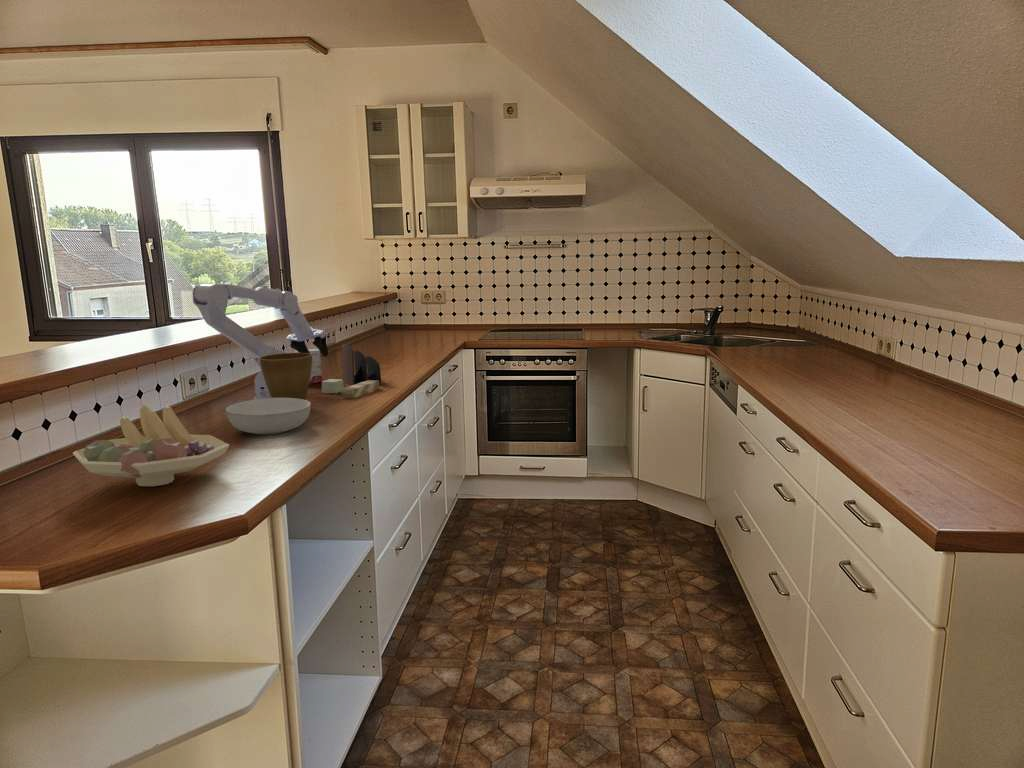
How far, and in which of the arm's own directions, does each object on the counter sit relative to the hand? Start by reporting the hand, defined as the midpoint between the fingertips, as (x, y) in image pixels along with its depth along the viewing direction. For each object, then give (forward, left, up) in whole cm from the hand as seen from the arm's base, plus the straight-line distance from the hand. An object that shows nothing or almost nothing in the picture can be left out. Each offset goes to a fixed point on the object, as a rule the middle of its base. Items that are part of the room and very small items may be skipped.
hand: (317, 356), depth 238 cm
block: (-4, -8, -11) cm, 15 cm away
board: (-4, -19, -11) cm, 22 cm away
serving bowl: (-53, -23, -11) cm, 59 cm away
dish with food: (-95, -29, -11) cm, 100 cm away
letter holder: (+14, -8, -12) cm, 20 cm away
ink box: (+8, +10, -11) cm, 17 cm away
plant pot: (-30, -11, -11) cm, 34 cm away
